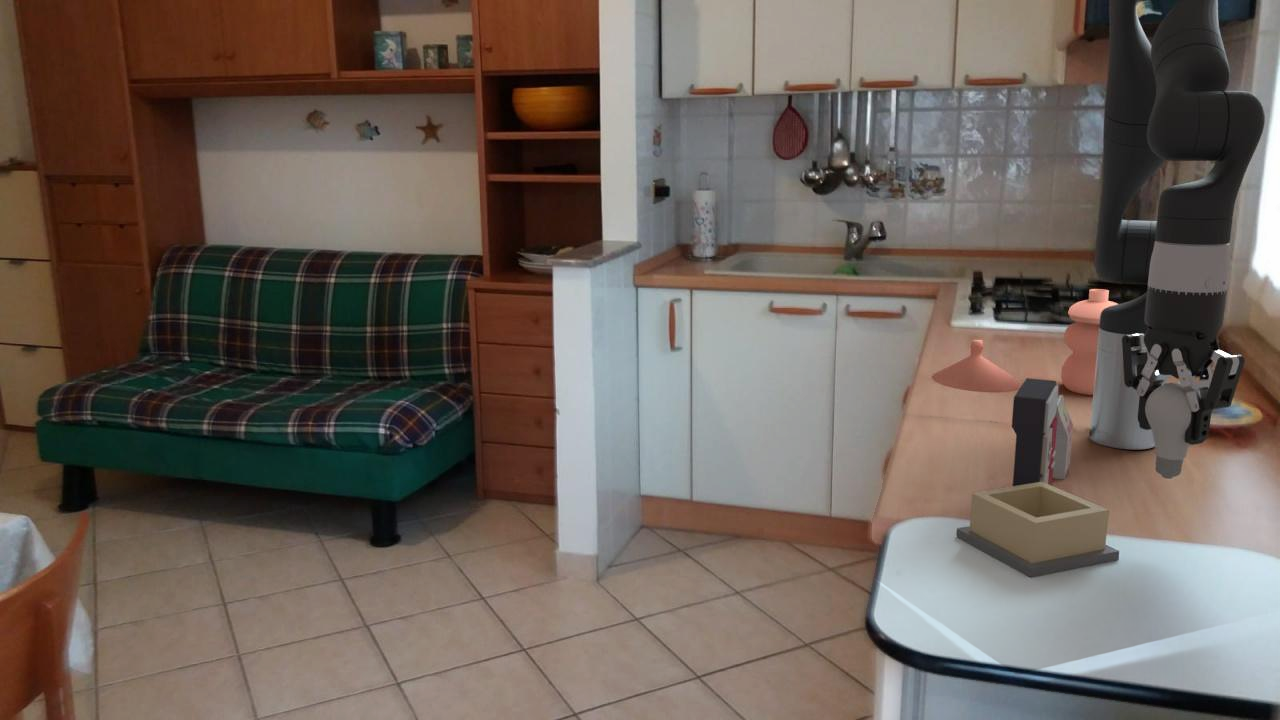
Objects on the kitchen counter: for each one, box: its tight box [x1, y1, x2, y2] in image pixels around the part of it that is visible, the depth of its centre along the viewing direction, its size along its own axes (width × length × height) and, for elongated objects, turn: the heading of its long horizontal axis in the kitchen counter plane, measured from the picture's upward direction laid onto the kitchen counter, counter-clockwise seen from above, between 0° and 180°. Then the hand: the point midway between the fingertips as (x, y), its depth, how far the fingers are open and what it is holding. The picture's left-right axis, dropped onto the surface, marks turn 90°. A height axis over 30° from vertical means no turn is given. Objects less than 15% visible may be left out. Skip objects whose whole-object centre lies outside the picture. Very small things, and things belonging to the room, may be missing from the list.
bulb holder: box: [955, 482, 1120, 578], centre depth 114 cm, size 12×12×6 cm
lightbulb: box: [1145, 381, 1201, 480], centre depth 113 cm, size 6×6×11 cm
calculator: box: [1011, 377, 1059, 486], centre depth 126 cm, size 11×4×15 cm, turn 152°
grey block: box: [1053, 394, 1074, 480], centre depth 139 cm, size 4×7×10 cm, turn 152°
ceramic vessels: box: [931, 288, 1119, 396], centre depth 181 cm, size 35×21×19 cm, turn 75°
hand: (1170, 434), depth 113 cm, fingers closed on lightbulb, 5 cm apart
